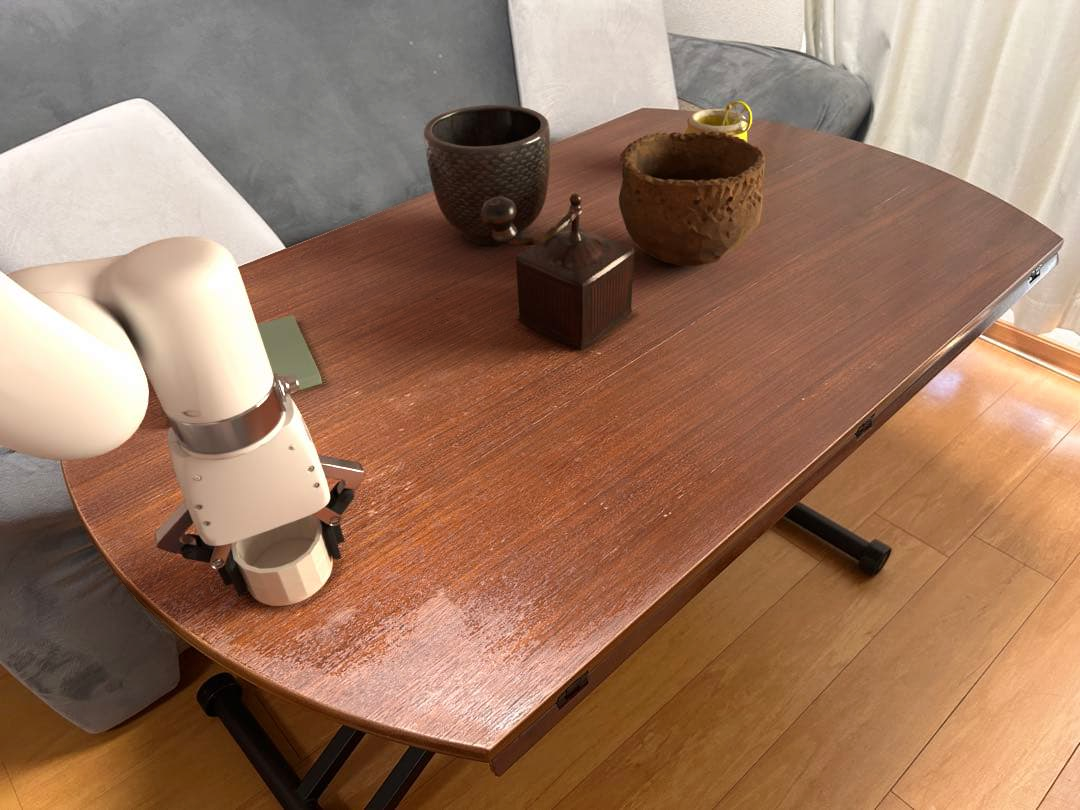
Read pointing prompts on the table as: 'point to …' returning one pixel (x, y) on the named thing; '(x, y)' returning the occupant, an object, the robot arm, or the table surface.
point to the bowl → (691, 194)
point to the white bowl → (285, 562)
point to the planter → (488, 165)
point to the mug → (721, 121)
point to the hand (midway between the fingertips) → (287, 564)
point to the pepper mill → (566, 276)
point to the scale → (289, 351)
